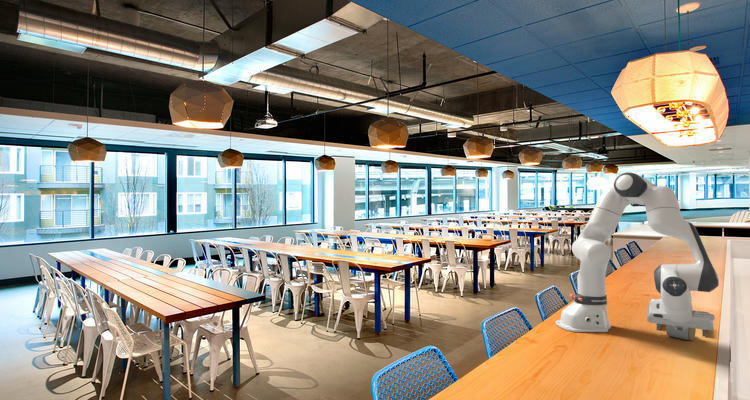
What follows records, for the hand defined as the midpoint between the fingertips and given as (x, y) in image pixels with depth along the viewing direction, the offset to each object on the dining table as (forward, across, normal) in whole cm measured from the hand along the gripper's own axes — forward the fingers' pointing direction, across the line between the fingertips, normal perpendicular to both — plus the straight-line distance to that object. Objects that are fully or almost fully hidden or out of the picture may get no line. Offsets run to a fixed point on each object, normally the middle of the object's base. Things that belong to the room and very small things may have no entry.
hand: (679, 328), depth 153 cm
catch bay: (+19, 0, -11) cm, 22 cm away
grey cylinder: (+10, 0, -2) cm, 10 cm away
